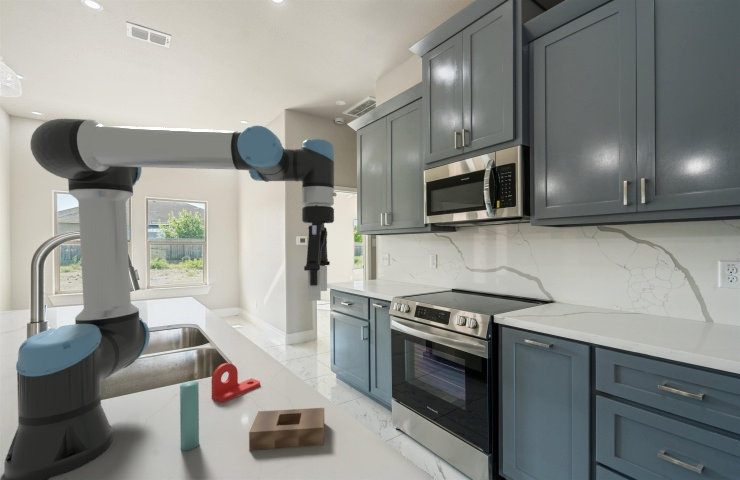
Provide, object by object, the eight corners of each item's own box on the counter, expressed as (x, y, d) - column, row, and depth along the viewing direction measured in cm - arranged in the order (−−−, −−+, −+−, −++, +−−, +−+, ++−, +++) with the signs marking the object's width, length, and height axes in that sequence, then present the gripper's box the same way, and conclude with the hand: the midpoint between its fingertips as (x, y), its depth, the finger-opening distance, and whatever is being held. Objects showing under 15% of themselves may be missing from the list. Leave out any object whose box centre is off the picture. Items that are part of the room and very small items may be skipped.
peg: (177, 451, 66) (177, 388, 66) (184, 441, 69) (184, 381, 69) (195, 449, 66) (194, 387, 66) (201, 440, 69) (201, 380, 69)
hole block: (249, 450, 66) (249, 432, 66) (258, 427, 74) (258, 411, 74) (323, 445, 67) (323, 427, 67) (324, 423, 75) (324, 407, 75)
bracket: (222, 403, 85) (221, 371, 85) (211, 398, 88) (211, 367, 88) (261, 386, 95) (261, 357, 95) (251, 382, 98) (251, 354, 98)
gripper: (328, 200, 70) (328, 304, 70) (337, 210, 95) (337, 287, 95) (291, 200, 70) (291, 305, 70) (310, 210, 95) (310, 287, 95)
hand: (318, 295), depth 83 cm, fingers open, 13 cm apart
